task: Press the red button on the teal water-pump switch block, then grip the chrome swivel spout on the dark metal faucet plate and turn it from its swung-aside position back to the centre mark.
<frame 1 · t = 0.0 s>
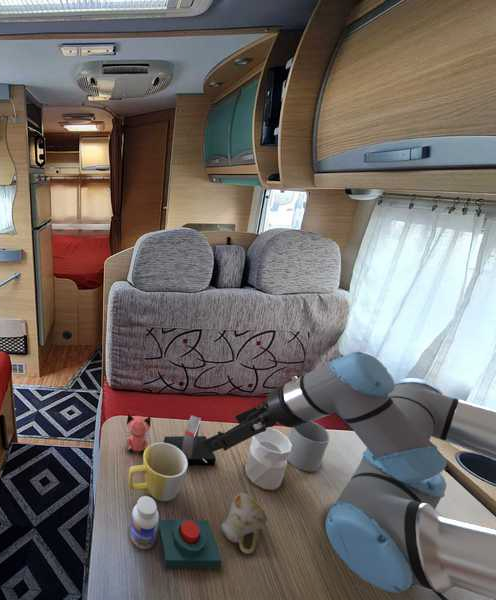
hand: (223, 433, 78), 15 cm above the table, tool tilted 35°, fingers open, 13 cm apart
spout: (191, 436, 89), point 6 cm above the table, hinge at 60.0°
pink faceted figure: (136, 449, 93), on the table
vase: (262, 475, 85), on the table
pump switch: (187, 545, 69), on the table
pill bottle: (142, 536, 70), on the table
cup: (301, 459, 90), on the table
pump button: (189, 531, 67), point 4 cm above the table, slide at 0.1 cm
faucet plate: (188, 454, 91), on the table
mug: (240, 530, 72), on the table
mug 2: (154, 490, 81), on the table
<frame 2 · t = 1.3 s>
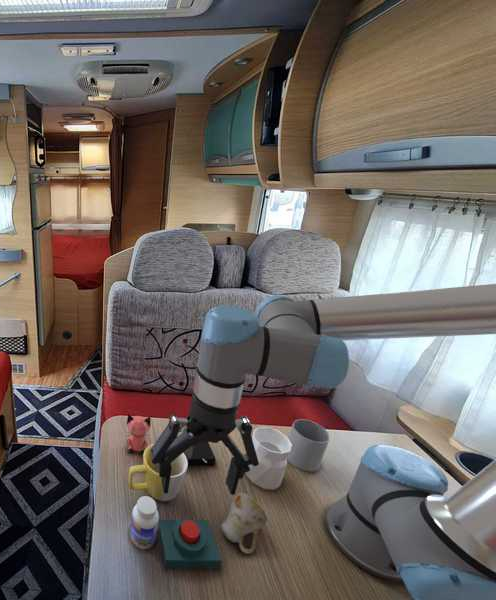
hand: (197, 487, 63), 17 cm above the table, tool pointing down, fingers open, 12 cm apart
nothing on the table moved.
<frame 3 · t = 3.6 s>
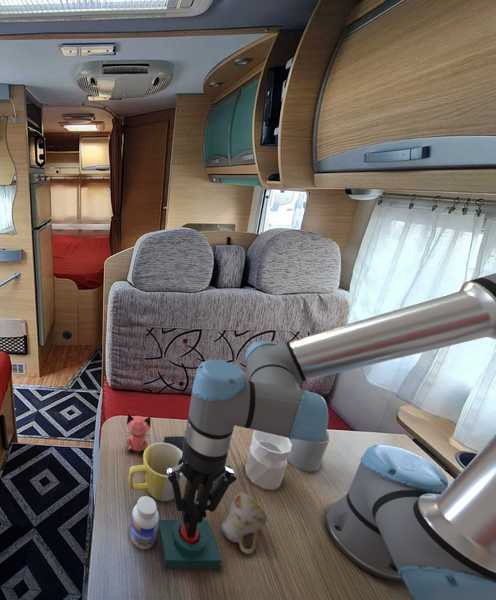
hand: (189, 530, 67), 5 cm above the table, tool pointing down, fingers closed
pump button: (189, 534, 67), point 4 cm above the table, slide at -0.6 cm, touching gripper
everything else where it was.
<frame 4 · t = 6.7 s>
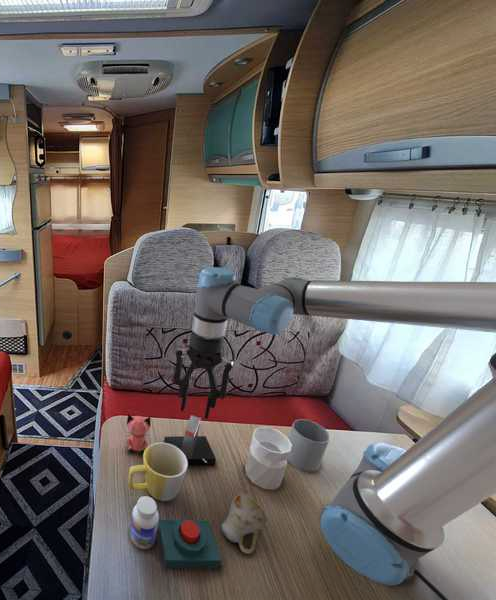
hand: (195, 411, 86), 15 cm above the table, tool pointing down, fingers open, 5 cm apart
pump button: (189, 531, 67), point 4 cm above the table, slide at 0.1 cm
everything else where it was.
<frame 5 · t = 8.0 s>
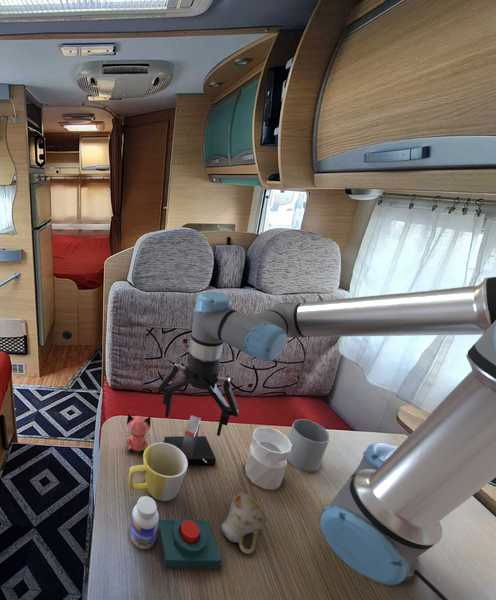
hand: (192, 423, 87), 11 cm above the table, tool pointing down, fingers open, 13 cm apart
nothing on the table moved.
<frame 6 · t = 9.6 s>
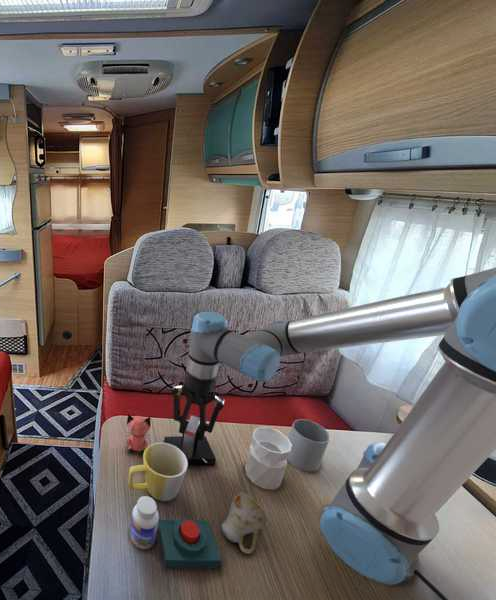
hand: (189, 444, 90), 4 cm above the table, tool pointing down, fingers closed on spout, 3 cm apart
spout: (191, 436, 89), point 6 cm above the table, hinge at 60.0°, touching gripper
everything else where it was.
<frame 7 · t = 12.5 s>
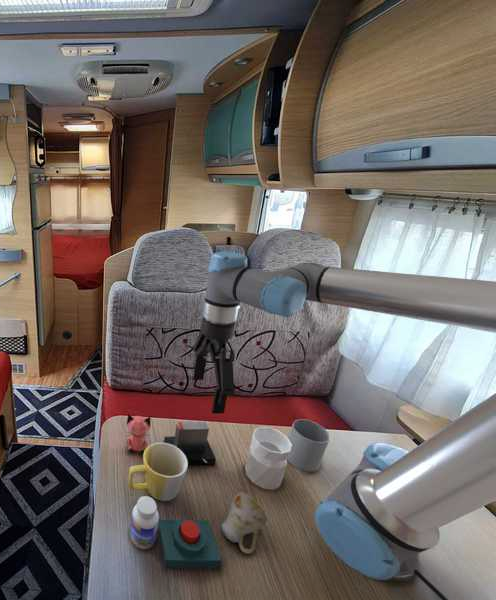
hand: (207, 394, 84), 20 cm above the table, tool pointing down, fingers open, 13 cm apart
spout: (191, 436, 89), point 6 cm above the table, hinge at 0.6°
everything else where it was.
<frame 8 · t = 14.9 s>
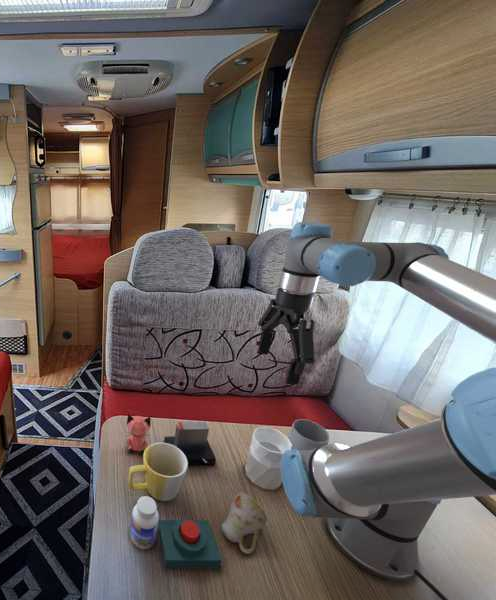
hand: (276, 367, 84), 27 cm above the table, tool pointing down, fingers open, 13 cm apart
nothing on the table moved.
at the end: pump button pushed in 1.0 cm at the most during the clip, back to where it started at the end; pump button slide at 0.1 cm; spout at +1° (first picture: +60°) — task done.
